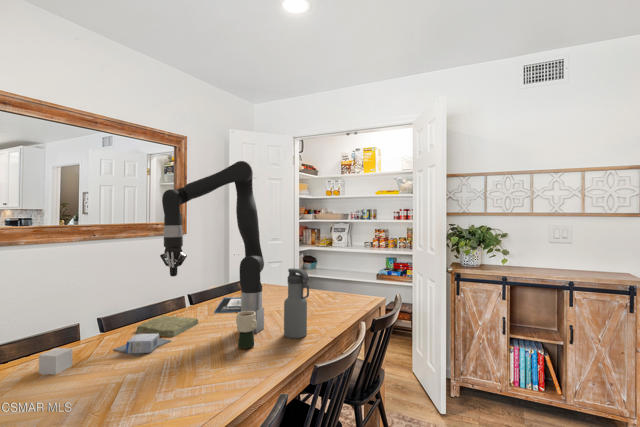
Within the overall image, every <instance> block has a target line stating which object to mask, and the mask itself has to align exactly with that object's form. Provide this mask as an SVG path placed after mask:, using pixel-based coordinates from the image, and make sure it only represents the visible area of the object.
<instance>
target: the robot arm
mask: <svg viewBox="0 0 640 427" xmlns="http://www.w3.org/2000/svg"><path fill="white" fill-rule="evenodd" d="M253 175H254V173H253V168H252V166H251V165H250V163H248V162H247V161H244V160H239V161H236V162H235V163H233V164H231V165H229V166H227V167H225V168H224V169H222V170H219V171H217V172H216V173H214V174H211V175H207V176H205V177H203V178H200V179H197V180H195V181H191V182H189V183H187V184H185V186H183V187H180V188H177V189H171V188H170V189H166V190H165V191H164V192H163V194H162V196H161V197H162V199H161V202H162V210H163V214H164V218H163V223H164V224H163V225H164V226H163V247H164V248H165V249H164V251H163V253H161V254H160V255H159V256H160V258H161V260H162V262H163V264H164V265H165V266H166V267H168V268H169V275H170V277H177V276H178V267H181V266H182V265H183V263H184V262H185V260H186V259H187V256H188V255H187V254H185V253H183V249H182V247H183V245H184V244H183V243H184V242H183V241H184V240H183V239H184V237H183V236H184V235H183V234H184V233H183V232H184V231H183V216H182V213H181V208H180V206H182V205H183V204H185V203H188V202H190V201H191V200H195V199H197V198H200V197H202V196H205V195H207V194H210V193H212V192H214V191H216V190H217V189H219V188H221V187H223V186H225V185H228V184H231V183H234V186H235V191H236V192H235V193H236V207H235V208H236V209H235V211H236V213H235V214H236V221H237V229H238V230H239V231H238V232H239V234H240V237H241V240H242V241H243V246H244V255H245V256H244V257H243V258H242V260H241V261H240V264H239V286H240V289H241V290H240V293H241V294H240V297H241V312H242V311H254V312H255V313H256V321H257V328H256V329H254V330H253V331H252V332H253V334H257V333H260V332H262V331H263V330H264V328H265V308H264V307H263V284H262V282H261V272H262V271H263V270H264V268H265V267H264V266H265V260H264V257H263V251H262V247H261V241H260V240H261V239H260V227H259V217H258V209H257V205H256V199H255V196H254V191H253Z"/></svg>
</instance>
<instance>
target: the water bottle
mask: <svg viewBox="0 0 640 427" xmlns="http://www.w3.org/2000/svg"><path fill="white" fill-rule="evenodd" d="M287 272H288V276H287V297H286V298H285V300H284V302H283V334H284V337H285V338H288V339H296V340H297V339H303V338H304V337H306V336H307V334H308V302H307V298H308V297H309V296H310V285H308V281H309V280H310V279H309V278H310V277H309V274H308V272H307V271H305V269H302V268H295V267H294V268H293V267H292V268H288V270H287ZM305 288H306V291H307V292H306V295H305V296H304V289H305Z"/></svg>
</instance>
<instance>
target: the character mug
mask: <svg viewBox="0 0 640 427" xmlns="http://www.w3.org/2000/svg"><path fill="white" fill-rule="evenodd" d="M235 323H236V329H237V332H239V334H238V335H239V336H238V341H237V348H240V349H249V348H251V347H254V346H255V337H254V333H253V332H252V331H253V330H254V329H256V328H257V321H256V313H255V312H254V311H242V312H239V313H236V320H235Z"/></svg>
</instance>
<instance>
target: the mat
mask: <svg viewBox="0 0 640 427" xmlns="http://www.w3.org/2000/svg"><path fill="white" fill-rule="evenodd" d="M171 342H172V340H170V339H167V338H160V337H159V345H158V346H157V347H156V348H159V347H162V346H165V345H166V344H168V343H171ZM126 345H127V343H125V344H123V345H121V346H117V347H114V348H113V351H114V352H119V353H122V354H128V355H132V356H137V357H139V356H140V355H143V354H145V353H127V352H126ZM156 348H155V349H156Z"/></svg>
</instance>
